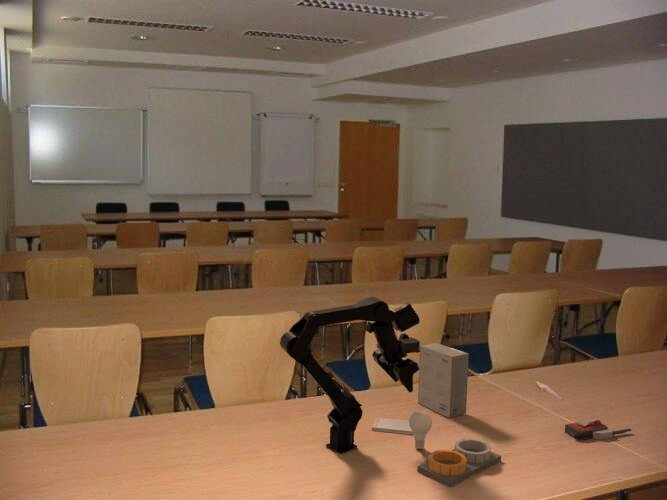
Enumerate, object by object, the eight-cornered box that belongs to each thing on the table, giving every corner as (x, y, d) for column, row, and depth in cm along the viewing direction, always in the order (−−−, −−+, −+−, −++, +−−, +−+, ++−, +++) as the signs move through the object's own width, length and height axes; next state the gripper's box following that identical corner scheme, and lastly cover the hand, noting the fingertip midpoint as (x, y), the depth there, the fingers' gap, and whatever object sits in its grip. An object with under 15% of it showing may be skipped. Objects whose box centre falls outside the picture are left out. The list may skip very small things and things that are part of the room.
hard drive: (416, 420, 211) (376, 416, 214) (413, 431, 203) (371, 426, 206) (415, 425, 211) (375, 421, 214) (413, 436, 203) (371, 432, 206)
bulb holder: (451, 486, 172) (451, 471, 172) (417, 471, 180) (417, 456, 180) (501, 461, 187) (501, 447, 186) (467, 447, 195) (468, 434, 194)
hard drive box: (467, 414, 220) (470, 353, 217) (449, 419, 216) (452, 357, 213) (433, 399, 233) (436, 341, 230) (416, 403, 228) (418, 345, 225)
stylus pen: (533, 385, 248) (533, 380, 247) (539, 384, 249) (540, 380, 248) (558, 402, 234) (558, 397, 233) (565, 401, 235) (565, 396, 234)
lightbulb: (432, 454, 190) (433, 416, 189) (409, 453, 191) (410, 415, 189) (429, 444, 197) (430, 407, 195) (407, 443, 197) (408, 407, 195)
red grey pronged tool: (580, 445, 199) (633, 435, 206) (581, 430, 198) (634, 421, 206) (559, 433, 207) (611, 424, 215) (560, 419, 206) (612, 411, 214)
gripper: (426, 335, 187) (443, 384, 192) (396, 319, 205) (412, 364, 209) (391, 353, 184) (409, 402, 189) (364, 335, 202) (381, 380, 206)
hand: (403, 386), depth 198 cm, fingers open, 9 cm apart
